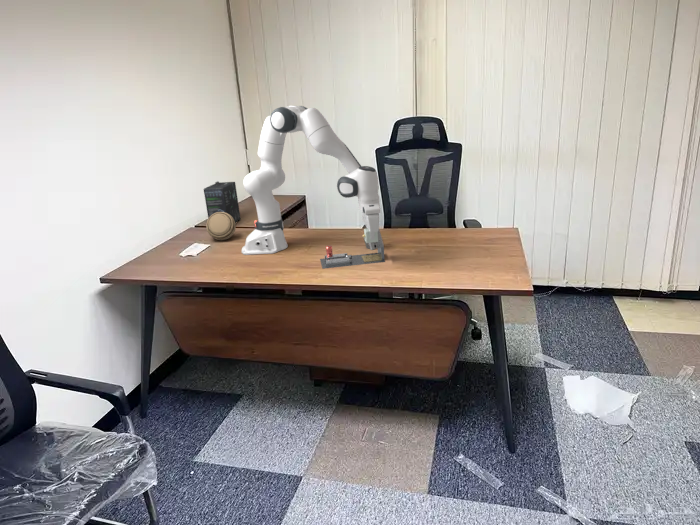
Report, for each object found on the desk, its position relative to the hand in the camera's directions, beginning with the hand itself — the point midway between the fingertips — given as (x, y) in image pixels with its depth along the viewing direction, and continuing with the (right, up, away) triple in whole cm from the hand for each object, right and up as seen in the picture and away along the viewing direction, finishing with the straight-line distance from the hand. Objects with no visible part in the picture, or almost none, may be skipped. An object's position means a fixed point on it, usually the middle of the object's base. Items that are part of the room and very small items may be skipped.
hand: (370, 237), depth 207 cm
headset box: (-84, +12, +82) cm, 118 cm away
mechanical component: (-77, +1, +51) cm, 93 cm away
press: (-8, -11, +3) cm, 14 cm away
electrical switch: (+2, -5, +19) cm, 20 cm away
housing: (0, -2, +1) cm, 2 cm away
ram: (-14, -10, +2) cm, 17 cm away
